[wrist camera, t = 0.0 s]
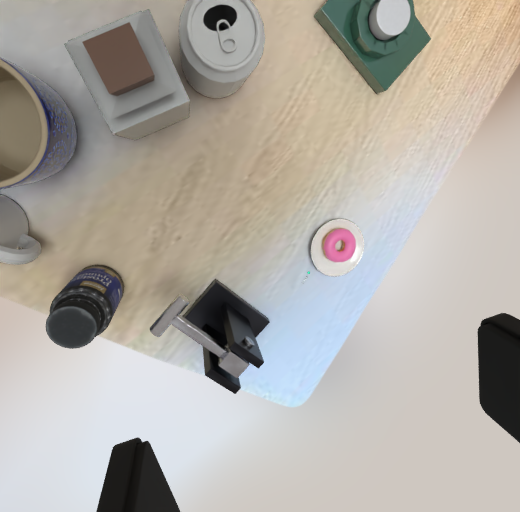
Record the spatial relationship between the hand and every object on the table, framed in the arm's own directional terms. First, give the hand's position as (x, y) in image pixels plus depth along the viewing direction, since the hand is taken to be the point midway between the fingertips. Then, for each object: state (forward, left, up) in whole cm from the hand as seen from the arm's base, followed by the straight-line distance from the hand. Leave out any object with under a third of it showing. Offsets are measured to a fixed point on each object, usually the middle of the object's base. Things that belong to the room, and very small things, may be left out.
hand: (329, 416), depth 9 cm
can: (-11, +12, -38) cm, 41 cm away
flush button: (0, +28, -34) cm, 44 cm away
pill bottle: (-5, -18, -38) cm, 42 cm away
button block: (0, +28, -37) cm, 47 cm away
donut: (+17, +5, -38) cm, 41 cm away
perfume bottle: (-14, +4, -38) cm, 40 cm away
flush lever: (+7, -12, -29) cm, 32 cm away
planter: (-21, -7, -38) cm, 43 cm away
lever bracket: (+11, -12, -37) cm, 41 cm away
